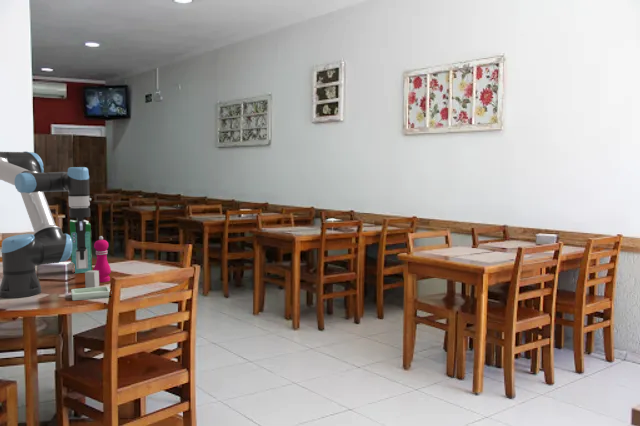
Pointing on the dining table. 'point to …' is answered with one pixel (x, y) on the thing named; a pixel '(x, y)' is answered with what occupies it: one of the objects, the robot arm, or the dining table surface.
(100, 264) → the pepper mill
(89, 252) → the milk carton
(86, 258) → the stone
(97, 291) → the bin
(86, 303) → the dining table surface
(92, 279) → the stone
